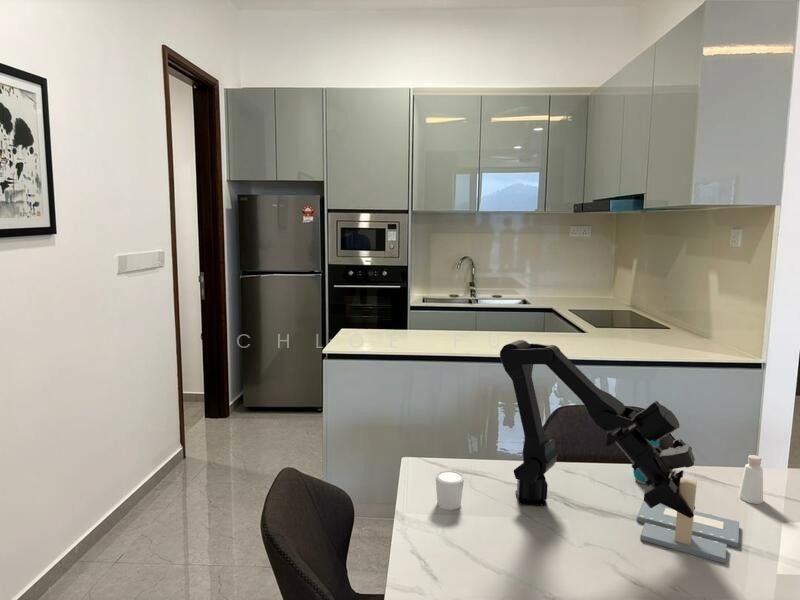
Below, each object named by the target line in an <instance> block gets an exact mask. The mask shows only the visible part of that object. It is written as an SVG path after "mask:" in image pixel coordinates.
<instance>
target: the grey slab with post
mask: <svg viewBox="0 0 800 600" xmlns="http://www.w3.org/2000/svg"><path fill="white" fill-rule="evenodd" d="M697 483H698V482H697V480H694V479H691V478H686V477H683V478H682V477H681V479H680V493H681V495H682V496H683V498H684V499H685V501H686V503H687V504H688V506H689V507H690V509H691V510H692V512H693V514H694V511H695V510H694V507H695V508H696V505H695V504H696V494H697ZM693 518H694V516H693V517H692V518H689V517H687V516H685V515H683V514H681V513H679V512H677V518H676V529H675V530H671V529H667V528H664V527H660V526H656V525H652V524H649V523H643V527H642V529H641V533H640V538H639V539H640V540H641V541H644V542H647V543H651V544H654V545H658V546H661V547H665V548H669V549H672V550H675V551H679V552H683V553H686V554H690V555H694V556H697V557H701V558H703V559H707V560H712V561H714V562H719V563H722V564H726V561H727V560H726V558H727V549H728V548H727V547H728V545H727V544H724V543H720V542H716V541H713V540H709V539H705V538H701V537H697V536H694V535H692V529H693Z"/></svg>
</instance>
